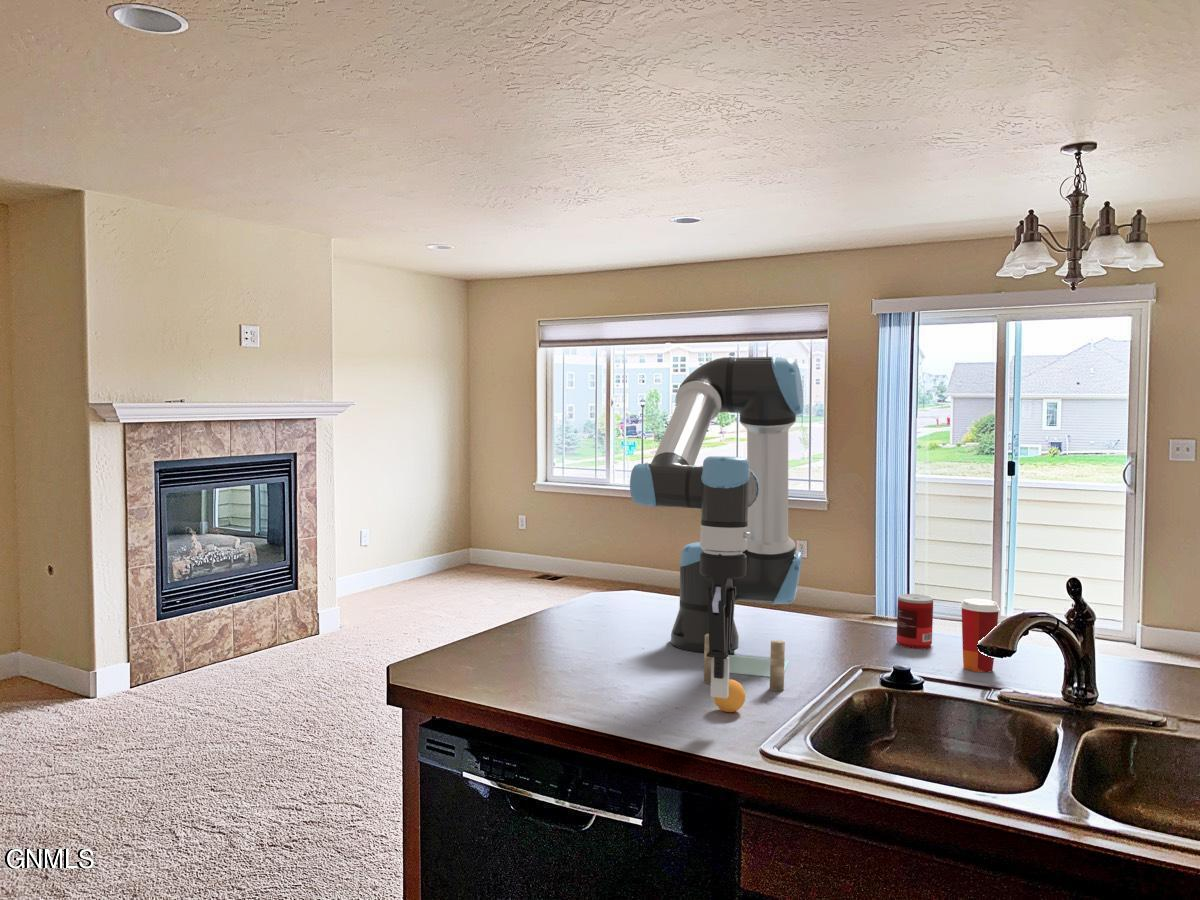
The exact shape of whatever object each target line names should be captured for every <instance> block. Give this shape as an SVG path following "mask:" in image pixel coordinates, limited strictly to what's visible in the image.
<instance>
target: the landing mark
mask: <svg viewBox="0 0 1200 900" xmlns="http://www.w3.org/2000/svg"><path fill="white" fill-rule="evenodd" d="M728 656H730V662H729V674H736V675H738V674H739V675H746V676H756V677H757V676H758V677H763V678H764V677H765V678H767V677H768V678H770V658H765V657H757V656H756V657H755V656H745V655H739V654H738V655H736V654H734V655H728ZM789 663H790V660H786V659H784V674H785V672H786V670H787V668H788V665H789Z"/></svg>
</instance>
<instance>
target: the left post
mask: <svg viewBox="0 0 1200 900" xmlns="http://www.w3.org/2000/svg"><path fill="white" fill-rule="evenodd" d="M708 652H709V634H706V635H705V648H704V652H703V653H704V657H703V682H704V684H708V685H711V658H712V657H707V653H708Z"/></svg>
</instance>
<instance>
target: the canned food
mask: <svg viewBox="0 0 1200 900" xmlns="http://www.w3.org/2000/svg"><path fill="white" fill-rule="evenodd" d="M896 614H897V615H896V618H897V619H896V643H897V644H898V645H899V646H900V647H903V648H906V647H907V648H906V649H912V648H913V649H916V650H925V649H924V648H926V649H929V648H931V646H932V643H933V624H934V623H933V621H934V618H933V617H934V598H933V597H931V596H928V595H924V594H915V593H902V594H899V595H898V596H897V612H896Z"/></svg>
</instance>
